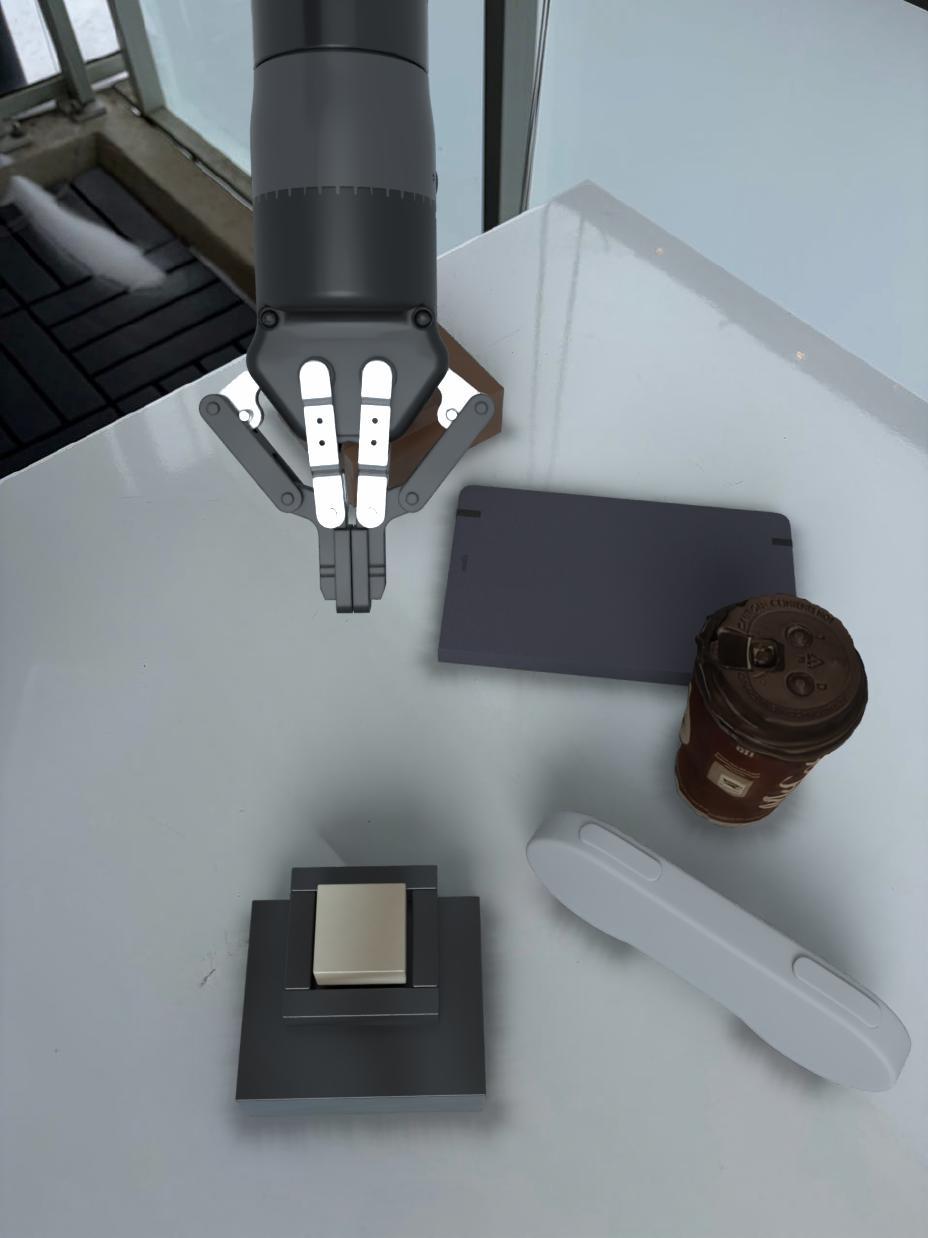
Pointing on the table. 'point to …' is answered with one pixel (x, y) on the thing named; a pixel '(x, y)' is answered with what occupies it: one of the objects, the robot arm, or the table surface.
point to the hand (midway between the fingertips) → (355, 609)
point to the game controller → (721, 951)
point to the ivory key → (360, 934)
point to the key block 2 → (363, 1009)
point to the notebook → (600, 581)
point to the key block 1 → (427, 422)
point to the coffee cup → (765, 705)
